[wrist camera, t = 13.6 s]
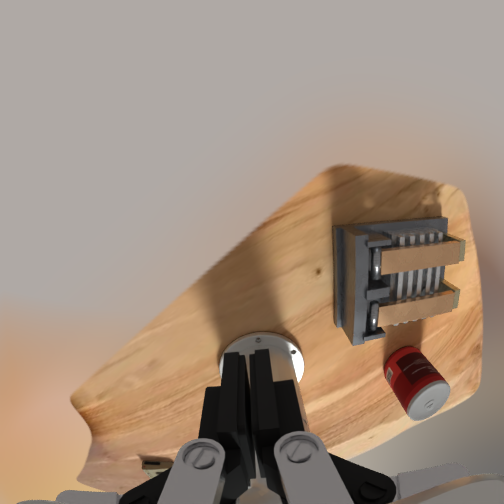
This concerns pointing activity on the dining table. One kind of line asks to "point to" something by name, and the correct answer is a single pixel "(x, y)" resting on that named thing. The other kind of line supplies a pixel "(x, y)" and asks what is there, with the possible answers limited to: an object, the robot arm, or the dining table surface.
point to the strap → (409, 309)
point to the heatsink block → (389, 285)
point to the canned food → (416, 383)
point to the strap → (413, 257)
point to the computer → (155, 467)
